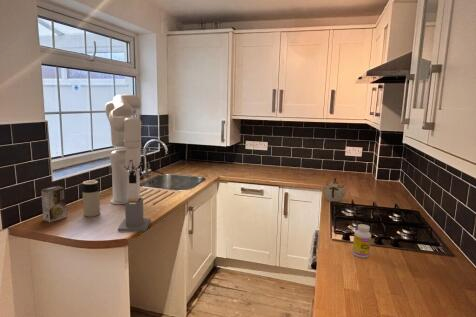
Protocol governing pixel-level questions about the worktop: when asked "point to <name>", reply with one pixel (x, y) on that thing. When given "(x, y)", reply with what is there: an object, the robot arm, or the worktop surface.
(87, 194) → the travel mug
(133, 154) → the robot arm
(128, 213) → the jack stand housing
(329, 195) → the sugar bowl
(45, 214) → the coffee box
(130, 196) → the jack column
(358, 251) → the supplement bottle
